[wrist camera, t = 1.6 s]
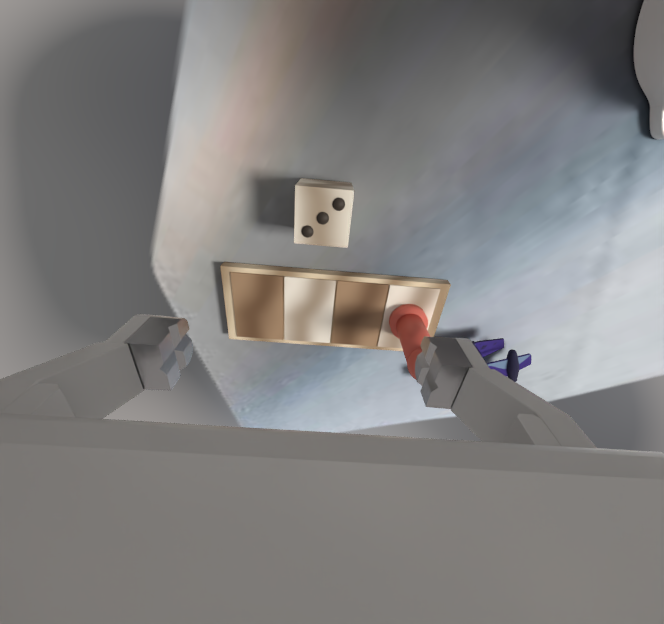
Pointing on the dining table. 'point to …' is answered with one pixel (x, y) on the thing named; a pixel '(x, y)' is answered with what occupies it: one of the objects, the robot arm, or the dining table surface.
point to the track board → (323, 305)
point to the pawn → (409, 331)
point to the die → (323, 212)
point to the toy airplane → (504, 366)
